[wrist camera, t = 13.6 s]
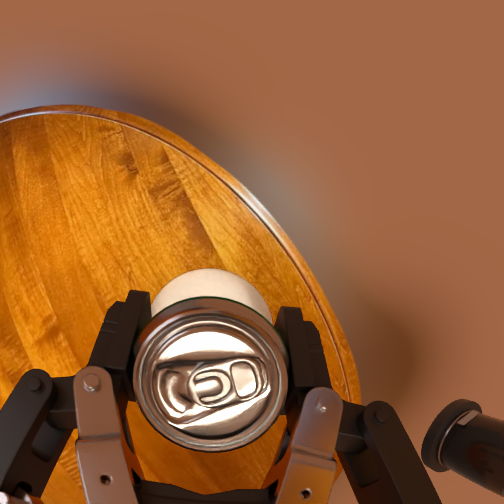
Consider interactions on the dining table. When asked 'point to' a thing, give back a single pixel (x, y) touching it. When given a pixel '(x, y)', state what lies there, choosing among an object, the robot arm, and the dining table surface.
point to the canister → (210, 290)
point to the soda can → (210, 373)
